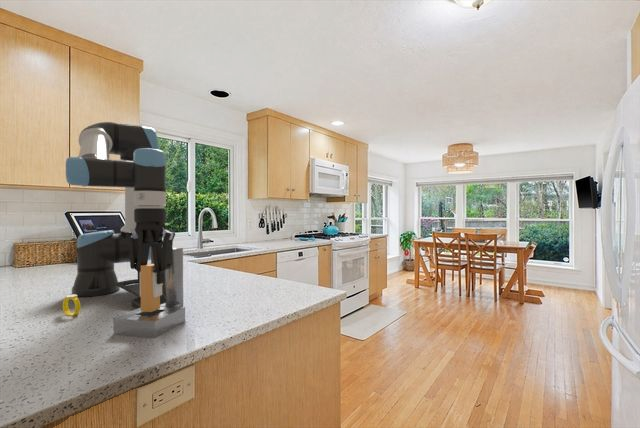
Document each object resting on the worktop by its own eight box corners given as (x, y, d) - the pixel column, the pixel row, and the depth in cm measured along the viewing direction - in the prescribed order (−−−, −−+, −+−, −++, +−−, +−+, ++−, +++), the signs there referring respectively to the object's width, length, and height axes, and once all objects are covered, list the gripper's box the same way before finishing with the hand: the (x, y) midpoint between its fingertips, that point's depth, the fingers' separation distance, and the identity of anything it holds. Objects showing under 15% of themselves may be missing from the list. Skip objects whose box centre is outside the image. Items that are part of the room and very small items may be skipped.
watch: (82, 315, 96) (83, 296, 96) (73, 318, 93) (73, 298, 93) (69, 311, 98) (70, 292, 98) (59, 314, 95) (60, 295, 95)
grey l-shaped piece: (162, 311, 98) (162, 247, 98) (197, 314, 96) (197, 247, 95) (113, 334, 81) (112, 255, 80) (154, 337, 78) (153, 256, 78)
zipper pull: (140, 278, 117) (176, 287, 102) (140, 296, 117) (176, 308, 102) (113, 282, 110) (147, 293, 95) (113, 301, 110) (148, 316, 95)
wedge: (149, 307, 87) (149, 263, 87) (159, 308, 86) (159, 264, 86) (140, 311, 83) (140, 265, 84) (151, 312, 83) (151, 265, 83)
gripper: (112, 207, 83) (113, 297, 83) (167, 207, 79) (168, 301, 80) (135, 208, 90) (135, 290, 90) (186, 207, 87) (186, 293, 87)
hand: (151, 295), depth 85 cm, fingers closed on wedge, 3 cm apart
